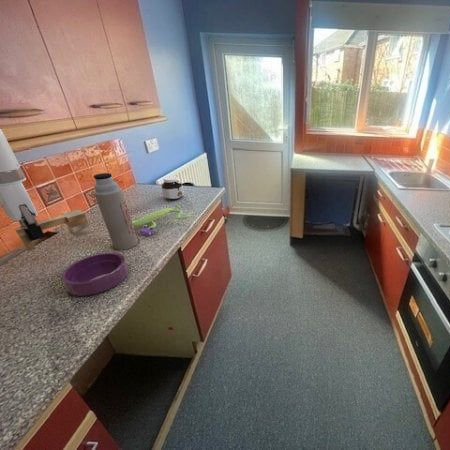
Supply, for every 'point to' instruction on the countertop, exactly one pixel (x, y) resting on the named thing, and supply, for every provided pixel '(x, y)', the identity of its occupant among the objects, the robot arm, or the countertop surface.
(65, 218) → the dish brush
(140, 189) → the countertop surface
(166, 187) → the spread jar
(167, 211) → the figurine
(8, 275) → the countertop surface
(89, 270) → the bowl
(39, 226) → the robot arm
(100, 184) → the thermos bottle
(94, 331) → the countertop surface
